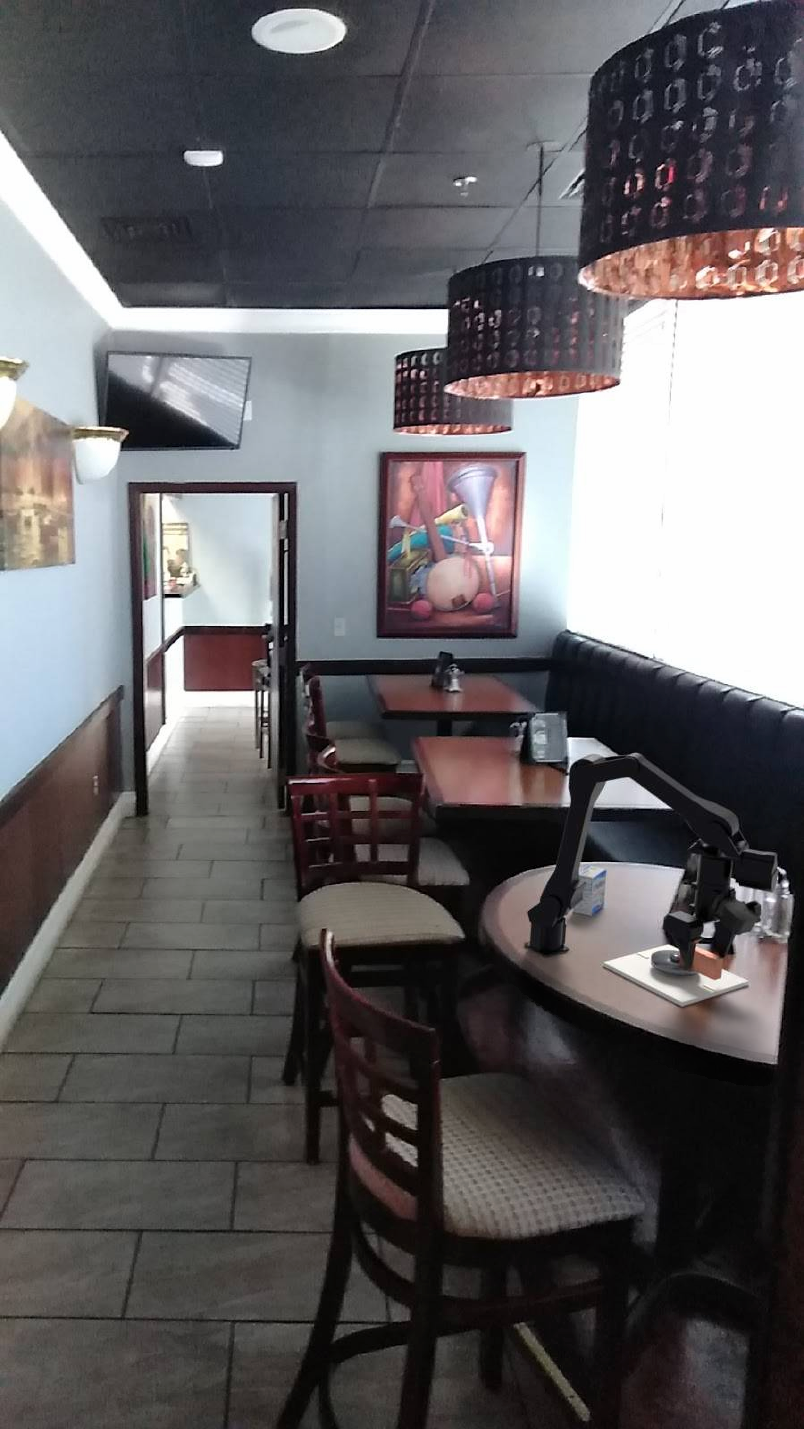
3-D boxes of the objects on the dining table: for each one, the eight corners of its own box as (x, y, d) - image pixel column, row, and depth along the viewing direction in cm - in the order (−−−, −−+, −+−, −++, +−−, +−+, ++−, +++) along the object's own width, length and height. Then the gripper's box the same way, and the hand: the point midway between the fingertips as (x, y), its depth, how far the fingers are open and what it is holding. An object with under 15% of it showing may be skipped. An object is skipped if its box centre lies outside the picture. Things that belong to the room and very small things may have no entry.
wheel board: (682, 1006, 174) (682, 998, 173) (603, 966, 189) (603, 958, 189) (748, 984, 184) (748, 977, 183) (668, 948, 199) (668, 941, 199)
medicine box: (591, 916, 214) (594, 878, 213) (571, 912, 217) (574, 874, 215) (604, 906, 221) (607, 868, 219) (585, 902, 223) (588, 864, 222)
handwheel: (700, 990, 176) (703, 964, 175) (640, 961, 187) (642, 936, 186) (733, 980, 181) (736, 954, 180) (673, 952, 192) (675, 927, 191)
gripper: (716, 903, 166) (707, 991, 168) (785, 885, 176) (775, 969, 179) (664, 882, 175) (656, 966, 178) (732, 867, 185) (724, 947, 188)
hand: (705, 962), depth 180 cm, fingers open, 9 cm apart
